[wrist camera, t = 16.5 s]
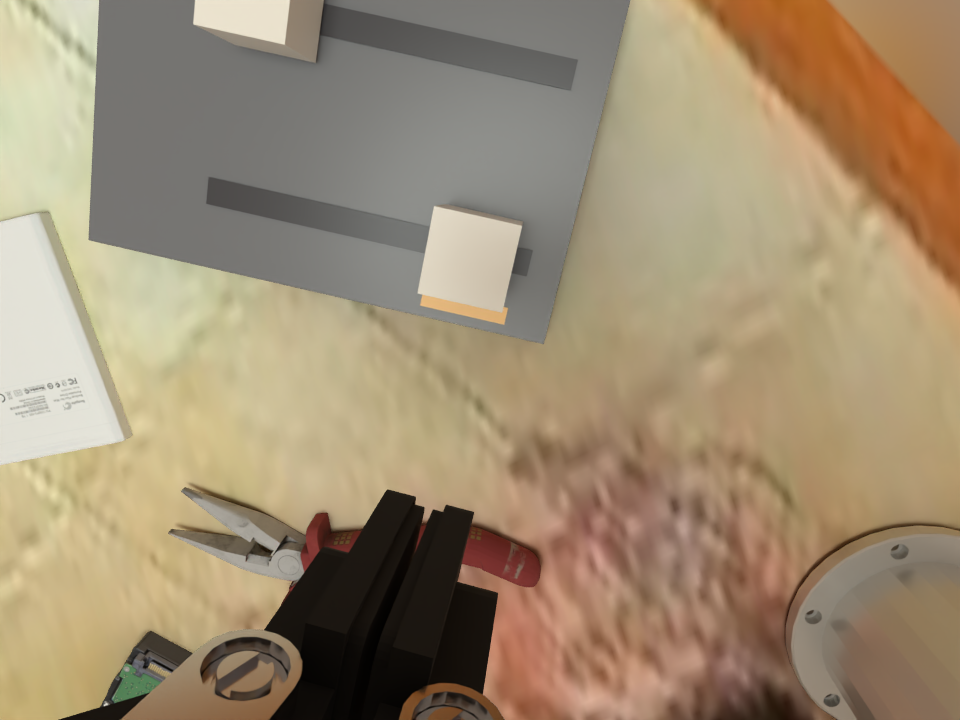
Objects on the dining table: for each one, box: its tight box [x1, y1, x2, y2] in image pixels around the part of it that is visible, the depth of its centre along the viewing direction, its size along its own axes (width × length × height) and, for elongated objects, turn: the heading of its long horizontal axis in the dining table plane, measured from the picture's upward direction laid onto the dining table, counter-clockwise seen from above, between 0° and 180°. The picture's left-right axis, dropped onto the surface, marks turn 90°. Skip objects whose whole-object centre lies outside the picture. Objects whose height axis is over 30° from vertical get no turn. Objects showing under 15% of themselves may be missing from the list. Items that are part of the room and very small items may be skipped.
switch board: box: [89, 0, 630, 344], centre depth 29 cm, size 22×15×3 cm
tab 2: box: [418, 204, 523, 313], centre depth 27 cm, size 4×4×4 cm
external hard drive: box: [0, 212, 133, 465], centre depth 34 cm, size 2×8×12 cm
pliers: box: [168, 487, 541, 605], centre depth 36 cm, size 12×20×3 cm, turn 69°
